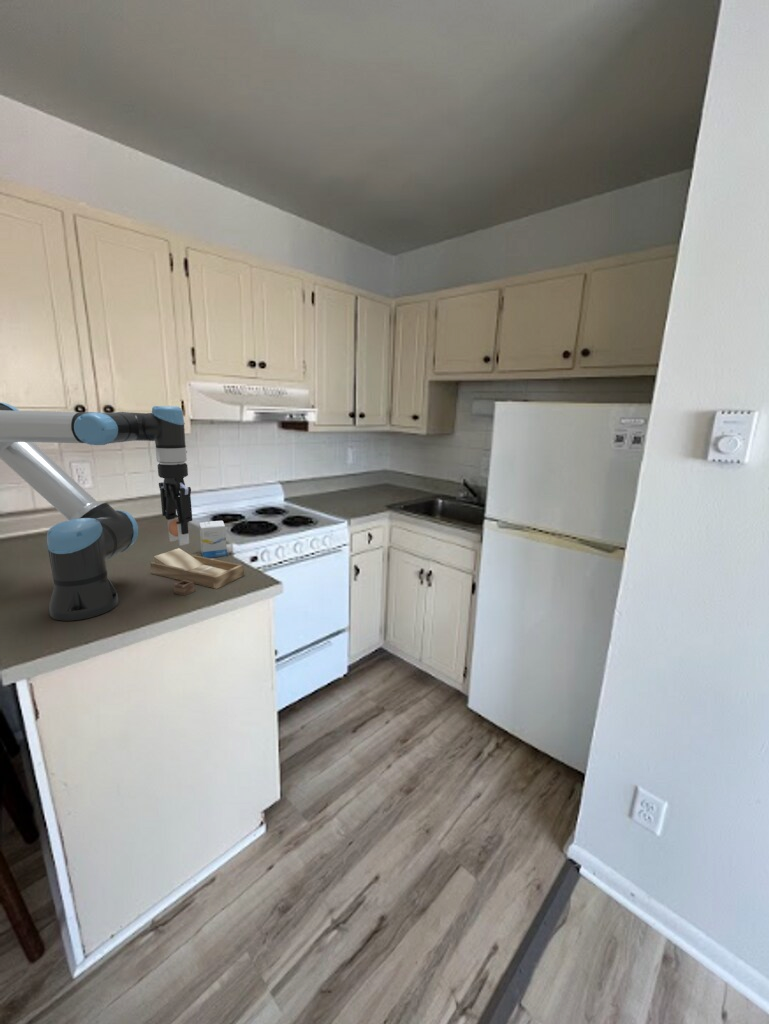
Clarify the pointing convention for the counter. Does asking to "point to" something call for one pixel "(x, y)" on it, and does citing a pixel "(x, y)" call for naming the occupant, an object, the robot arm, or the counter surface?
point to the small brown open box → (184, 587)
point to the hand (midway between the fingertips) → (179, 542)
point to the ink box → (213, 539)
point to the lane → (196, 568)
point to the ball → (173, 527)
